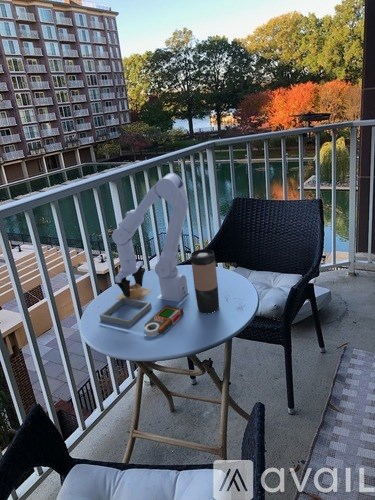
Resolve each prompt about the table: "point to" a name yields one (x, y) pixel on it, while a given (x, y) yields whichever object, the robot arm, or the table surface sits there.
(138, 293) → the ring
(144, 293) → the tan square plate
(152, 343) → the table surface
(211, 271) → the travel mug
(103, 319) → the tray
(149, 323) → the electronic device
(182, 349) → the table surface
